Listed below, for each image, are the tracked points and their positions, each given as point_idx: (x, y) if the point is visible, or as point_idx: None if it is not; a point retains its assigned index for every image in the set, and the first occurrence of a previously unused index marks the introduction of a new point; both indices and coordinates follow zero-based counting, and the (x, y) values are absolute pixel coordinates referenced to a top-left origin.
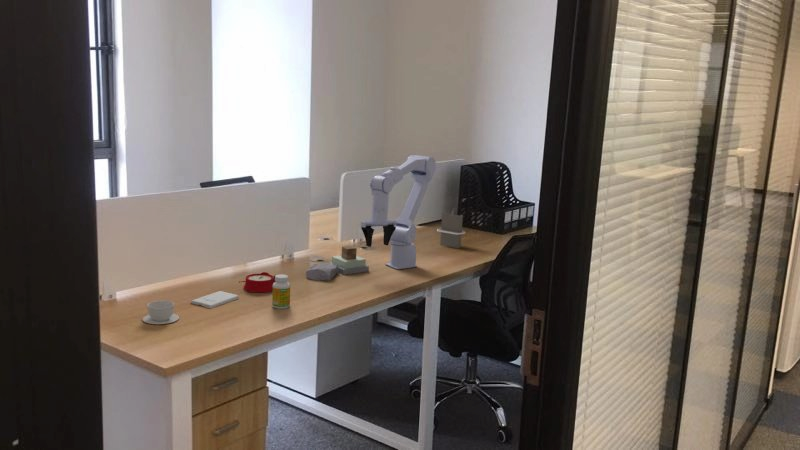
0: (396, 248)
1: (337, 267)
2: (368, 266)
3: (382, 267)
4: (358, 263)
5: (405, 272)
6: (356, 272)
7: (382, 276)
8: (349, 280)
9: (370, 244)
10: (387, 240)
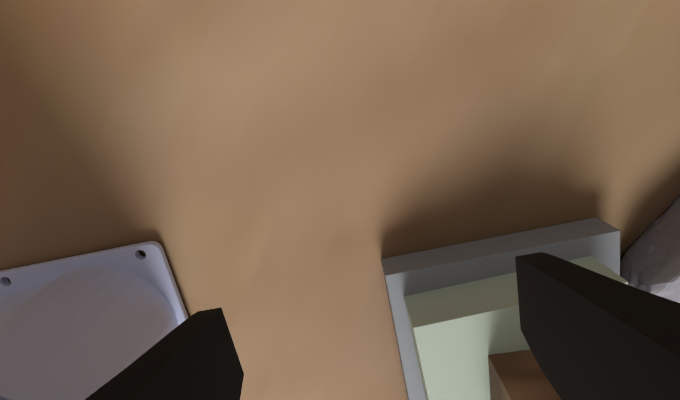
0: (67, 393)
1: (655, 271)
2: (388, 274)
3: (248, 318)
4: (478, 296)
5: (115, 161)
6: (485, 239)
7: (339, 97)
8: (641, 53)
9: (554, 261)
10: (186, 359)
